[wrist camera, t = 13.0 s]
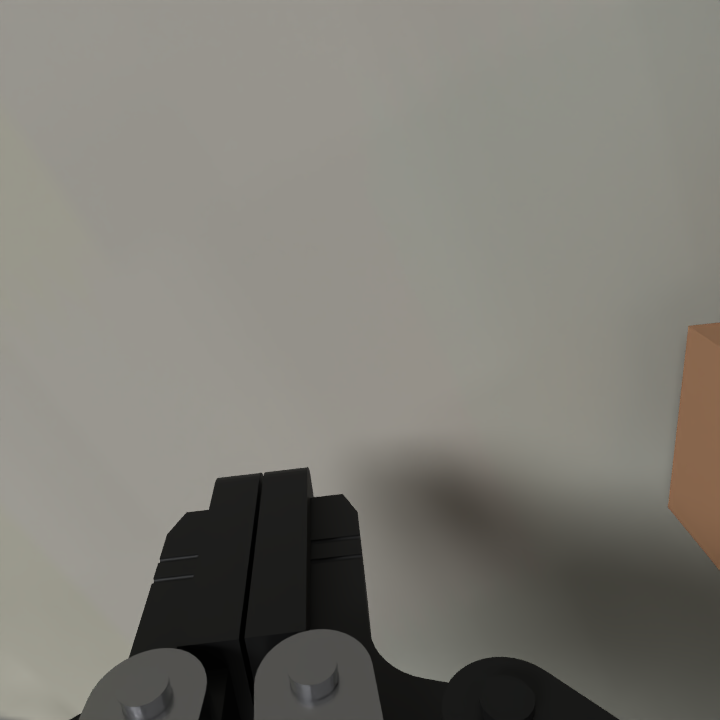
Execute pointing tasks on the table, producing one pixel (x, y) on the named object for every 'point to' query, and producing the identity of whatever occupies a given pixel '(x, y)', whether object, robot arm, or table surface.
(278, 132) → the table surface
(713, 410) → the rust plug
